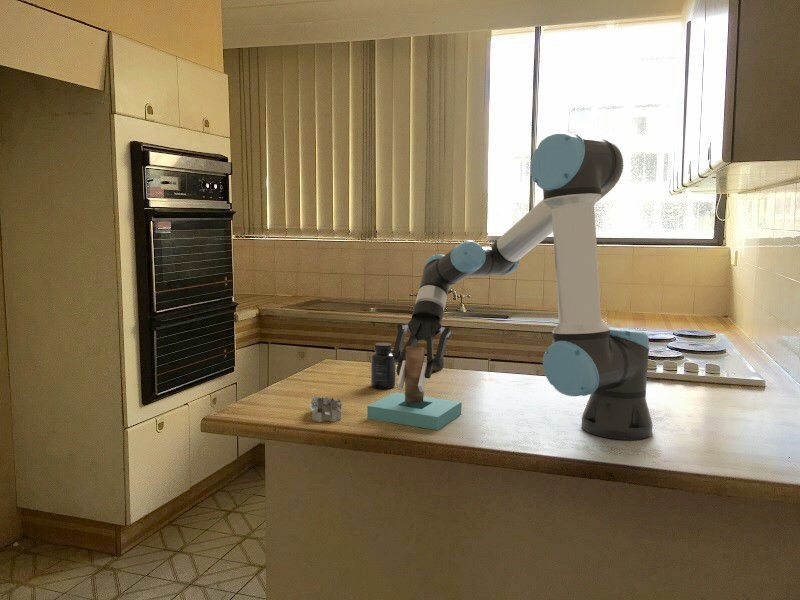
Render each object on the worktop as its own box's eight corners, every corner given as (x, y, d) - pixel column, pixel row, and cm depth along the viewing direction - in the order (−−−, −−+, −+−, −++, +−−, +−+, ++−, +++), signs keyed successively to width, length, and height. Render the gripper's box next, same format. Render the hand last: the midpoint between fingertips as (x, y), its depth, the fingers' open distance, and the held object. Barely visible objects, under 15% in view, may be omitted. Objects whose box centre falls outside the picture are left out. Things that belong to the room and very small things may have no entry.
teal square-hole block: (461, 414, 160) (461, 401, 160) (437, 430, 148) (438, 417, 147) (394, 403, 168) (395, 392, 168) (367, 418, 156) (367, 405, 155)
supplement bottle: (400, 386, 185) (401, 344, 184) (383, 390, 181) (383, 347, 179) (382, 382, 190) (383, 340, 189) (365, 386, 185) (366, 344, 184)
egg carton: (341, 423, 153) (341, 406, 152) (308, 423, 152) (308, 405, 152) (343, 409, 163) (343, 393, 163) (312, 409, 163) (312, 393, 162)
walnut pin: (426, 400, 159) (427, 346, 157) (418, 404, 155) (419, 350, 153) (409, 397, 161) (410, 344, 159) (401, 402, 157) (402, 348, 155)
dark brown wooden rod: (416, 381, 193) (416, 365, 192) (404, 379, 195) (405, 363, 194) (450, 370, 208) (451, 355, 207) (439, 368, 210) (440, 353, 210)
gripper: (465, 319, 167) (449, 399, 154) (399, 315, 172) (377, 392, 159) (461, 300, 162) (444, 382, 148) (393, 297, 167) (370, 376, 153)
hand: (410, 387), depth 154 cm, fingers closed on walnut pin, 4 cm apart
